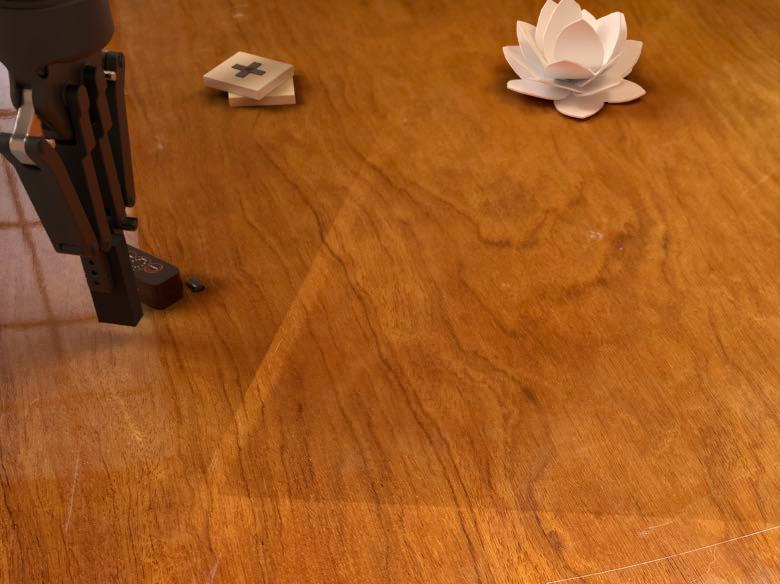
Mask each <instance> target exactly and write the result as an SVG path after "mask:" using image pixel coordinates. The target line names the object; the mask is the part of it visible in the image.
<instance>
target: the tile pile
mask: <svg viewBox="0 0 780 584" xmlns="http://www.w3.org/2000/svg"><path fill="white" fill-rule="evenodd" d="M293 76H295V70H294V65H293V64H291V63H290V64H289V63H286V62H283V61H278V60H275V59H271V58H268V57H263V56H260V55H259V56H258V55H255V54H252V53H248V52H244V51H237V52H236V53H235V54H233V55H232V56H229V58H227V59H226V60H224V61H222V62H221V63H220V64H218V65H216V66H215V67H214V68H212V69H211V70H209V71H207V72H206V73H205V74H203V76H202V78H203V84H204V86H205V87H208V88H212V89H215V90H219V91H222V92H227V93H228V103H229V107H230V108H235V107H236V108H237V107H256V106H258V107H259V106H276V105H277V106H278V105H279V106H281V105H296V104H297V103H296V94H295V83H294V77H293Z"/></svg>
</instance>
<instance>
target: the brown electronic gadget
mask: <svg viewBox="0 0 780 584" xmlns="http://www.w3.org/2000/svg"><path fill="white" fill-rule="evenodd" d="M127 247H128V252H129V256H130V260H131V264H132V268H133V272H134V276H135V281H136V285H137V289H138V293H139V297H140V301H141V304H144V305H145V306H147V307H150V308H151V309H154V310H157V311H163V310H166V309H167V308H169V307H171V306H173V305H174V304H176V303H178V302H179V301H181V300H182V299H183V298H184V297H185V290H184V286H183V280H182V276H181V271H180V268H179V267H178V266H176V265H174V264H172V263H169V262H167V261H165V260H163V259H161V258H158V257H157V256H155V255H153V254H150V253H148V252H146V251H144V250H142V249H140V248H139V247H135V246H134V245H131V244H129V243H127ZM184 285H185V286H186V287H187V288H188V289H189V290H190V291H191V292H192V293H200V292H202V291H204V290H205V289H206V286H205V285H204V284H203V283H202V282H201V280H199V279H198V278H197V277H193V276H189V277H186V278H185V280H184ZM209 287H210V286H209V285H208V286H207V289H209Z"/></svg>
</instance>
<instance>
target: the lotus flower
mask: <svg viewBox="0 0 780 584" xmlns="http://www.w3.org/2000/svg"><path fill="white" fill-rule="evenodd" d="M516 37H517V41H518V45H506V46H502V52H503V56H504V58H505V59H506V61H507V63H508V64H509V66H510V67H511V68H512V70H513V71H514V73H516V75H517V76H518V78H519V79H511V80H508V81H507V83H506V88H507V89H508V90H511V91H514V92H517V93H519V94H523V95H527V96H532V97H535V98H541V99H546V100H552V101H553V105H554V107H555V109H556V110H557V111H558V112H559V113H561V114H562V115H565V116H569V117H572V118H578V119H585V118H588V117H591V116H593V115H595V114H596V113H598V112H599V111H600V110H601V109H603V107H604V105H605V102H608V104H618V103H619V104H620V103H627V102H631V101H634V100H636V99H639V98H640V97H642V96H644V95H646V93H647V92H646V90H645V89H643V87H642V86H640V85H639V84H638V83H635V82H633V81H630V80H628V79H625V78H626V77H627V76H629V75H630V74H631V73H632V72H633V68H634V66H635V65H636V64H637V62H638V61H639V58H640V56H641V53H642V50H643V49H642V48H643V45H644V43H643V41H640V40H634V39H628V26H627V22H626V17H625V13H623V12H621V11H615V12H612V13H609V14H607V15H605V16H601V17H600V18H598V19H597V18H596V17H595V16H594V15H593V14H592V13H590V12H589V11H588V10H586V9H585V8H584V9H582V7H581V6H580V4H579V3H578V2H576V1H575V0H559V2H558V3H557V2H555V1H554V0H546V1H545V3H544V4H543V7H541V9H540V13H539V16H538V19H537V22H536V26H535V25H533V24H531V23H528V22H525V21H522V20H519V19H518V20H517V21H516Z"/></svg>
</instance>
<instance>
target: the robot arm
mask: <svg viewBox="0 0 780 584" xmlns="http://www.w3.org/2000/svg"><path fill="white" fill-rule="evenodd" d="M114 34H115V23H114V18H113V13H112V9H111V4H110V0H0V63H1V64H2V65H3V66H4V68H6V70H7V73H8V81H9V98H10V103H11V104H12V107H13V108H14V109H15V111H16V112H17V116H16V119H15V123H14V126H13V131H12V132H7V131H6V132H5V131H1V132H0V154H1V155H2V156H3V157H4V158H5V159H6V160H7V162H9V163H10V165H12V166H13V168H14V169H15V172H16V174H17V176H18V178H19V180H20V182H21V184H22V186H23V188H24V190H25V192H26V194H27V196H28V199H29V201H30V202H31V204H32V206H33V209H34V210H35V212H36V214H37V217H38V219H39V220H40V224H42V227H43V229H44V231H45V233H46V235H47V237H48V240H49V241H50V243H51V245H52V247H53V249H54V251H55V253H57V254H63V255H71V256H76V257H77V256H79V258H80V262H81V265H82V269H83V273H84V276H85V281H86V284H87V287H88V289H89V292H90V296H91V300H92V303H93V307H94V310H95V314H96V318H97V321H98V323H102V324H108V325H109V324H110V325H117V326H125V327H133V328H137V326H138V324H139V323H140V321H141V320H142V318H143V317H144V310H143V307H142V303H141V301H140V297H139V293H138V289H137V285H136V281H135V276H134V272H133V268H132V264H131V260H130V256H129V252H128V247H127V244H128V243H127V239H126V235H125V231H126V232H133V233H134V232H136V231H137V229H138V226H139V218H138V217H133V216H128V215H127V211H126V209H127V208H130V209H133V208H134V207H135V205H136V187H135V177H134V168H133V159H132V151H131V142H130V133H129V124H128V113H127V106H126V105H127V103H126V94H125V83H126V79H125V77H126V57H125V54H124V52H122V51H116V50H108V49H105V48H106V47H107V46H108V45H109V44H110V42H111V41H112V39H113V37H114Z"/></svg>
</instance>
